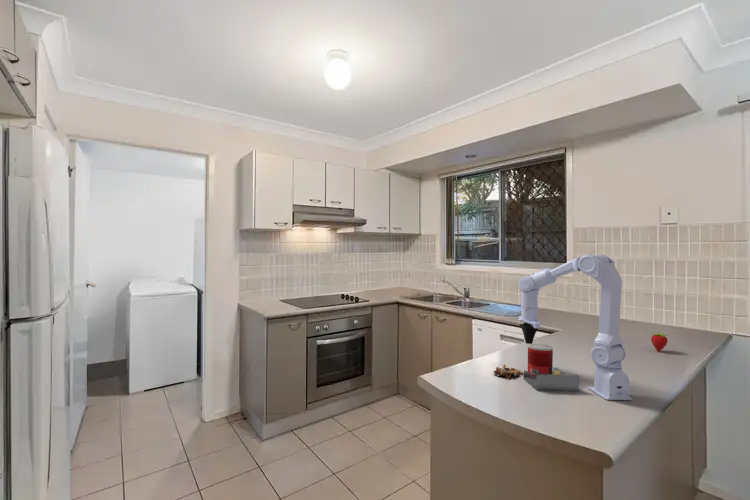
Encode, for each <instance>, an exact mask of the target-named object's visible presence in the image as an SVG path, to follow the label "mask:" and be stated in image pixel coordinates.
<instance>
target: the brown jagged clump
mask: <svg viewBox="0 0 750 500" xmlns="http://www.w3.org/2000/svg"><path fill="white" fill-rule="evenodd" d="M493 374H494V375H496V376H498V377H499V376H503V377H505V378H506V379H505V381H510V380H513V378H512V375H513V376H515V377H516V376H519V377H520V376H524V371H521V370H520V369H519V368H518V369H517V368H514V367H507V365H506V364H505V363H504V364H503V365H502V367H498V366H497V367H496V368H495V370H494V371H493Z"/></svg>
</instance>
